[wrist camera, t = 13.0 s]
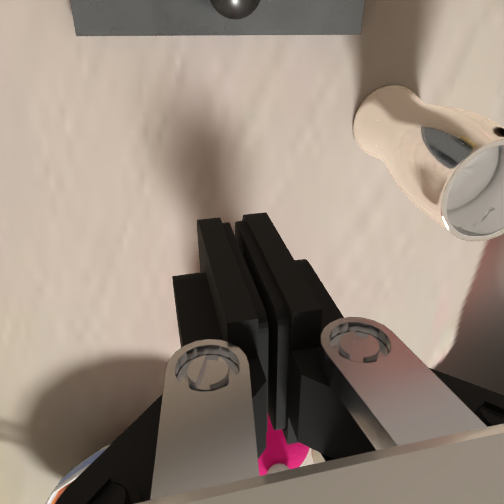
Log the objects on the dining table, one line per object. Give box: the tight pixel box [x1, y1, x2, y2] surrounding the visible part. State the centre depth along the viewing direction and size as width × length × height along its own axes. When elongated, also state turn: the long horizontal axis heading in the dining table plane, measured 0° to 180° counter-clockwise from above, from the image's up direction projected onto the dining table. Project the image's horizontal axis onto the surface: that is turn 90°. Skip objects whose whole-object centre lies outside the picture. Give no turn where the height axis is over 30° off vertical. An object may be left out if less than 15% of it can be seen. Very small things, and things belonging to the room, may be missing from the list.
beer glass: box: [353, 85, 504, 241], centre depth 34 cm, size 7×7×15 cm
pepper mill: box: [258, 415, 309, 476], centre depth 39 cm, size 7×7×20 cm
